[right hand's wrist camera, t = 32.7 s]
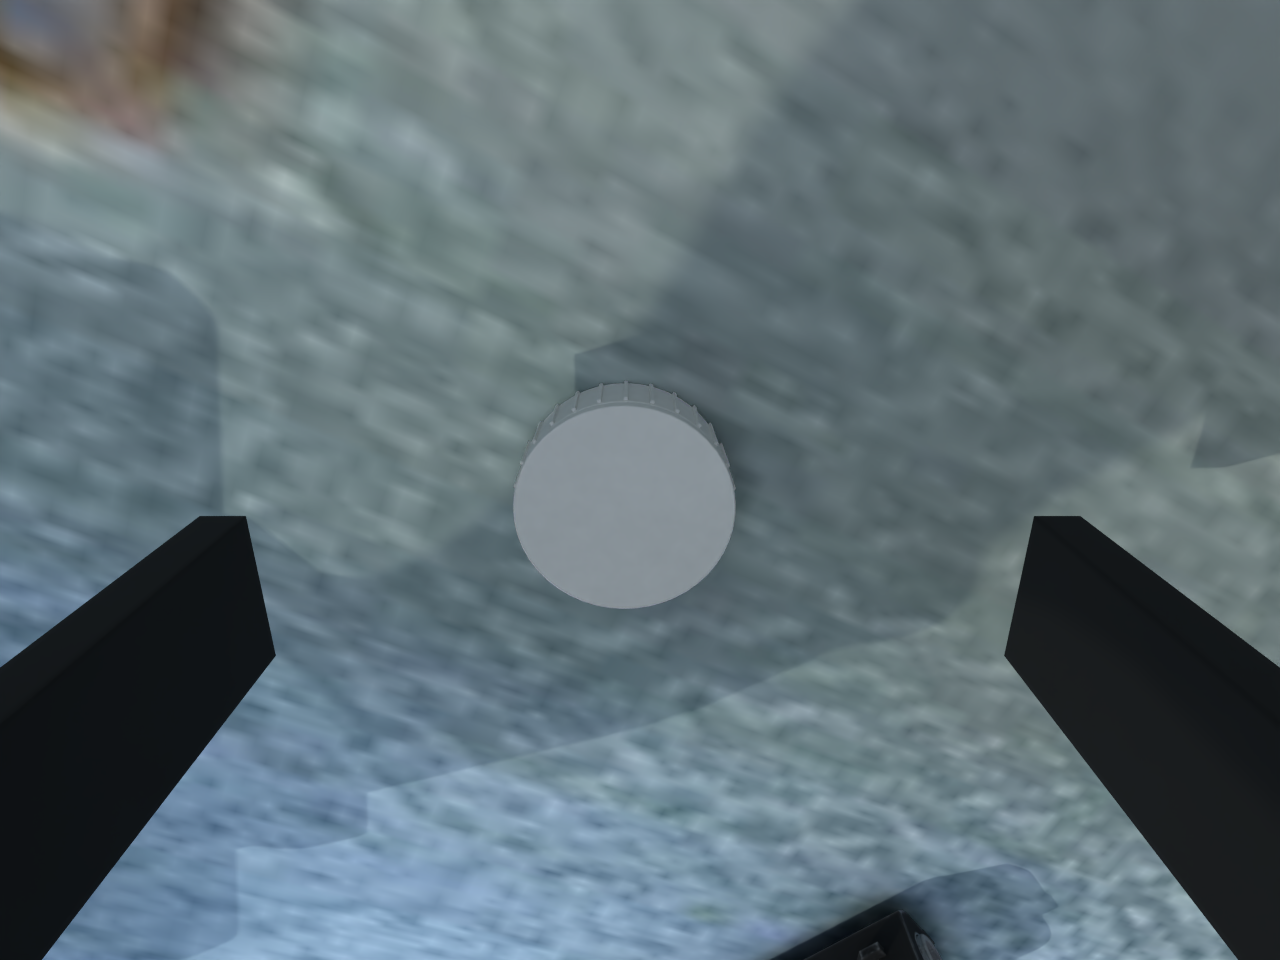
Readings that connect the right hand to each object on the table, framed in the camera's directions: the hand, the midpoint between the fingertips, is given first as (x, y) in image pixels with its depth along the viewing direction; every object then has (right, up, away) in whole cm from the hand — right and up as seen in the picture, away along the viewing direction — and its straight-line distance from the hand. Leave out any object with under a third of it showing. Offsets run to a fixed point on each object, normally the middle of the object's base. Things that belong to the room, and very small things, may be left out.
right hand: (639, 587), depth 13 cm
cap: (0, +1, +3) cm, 3 cm away
